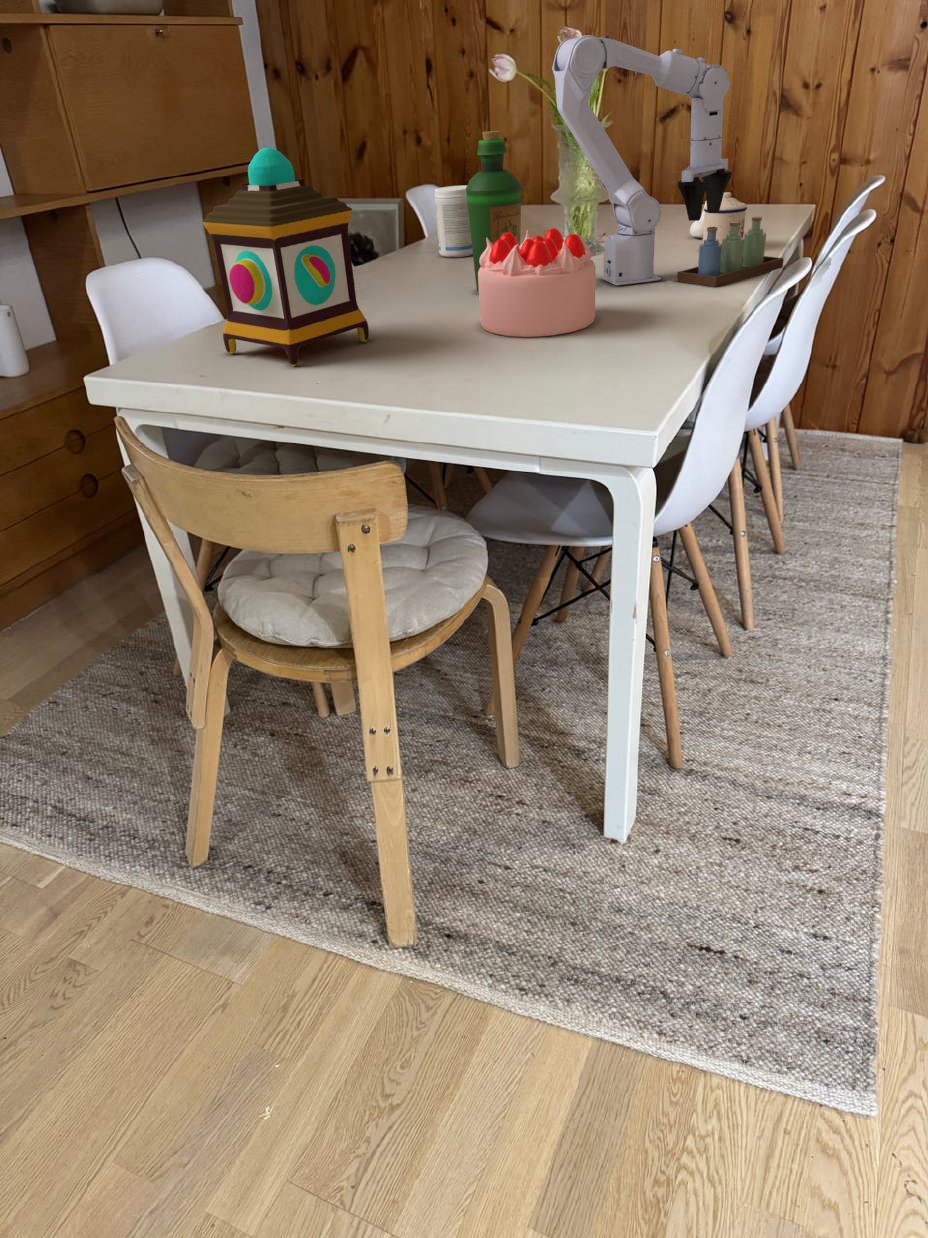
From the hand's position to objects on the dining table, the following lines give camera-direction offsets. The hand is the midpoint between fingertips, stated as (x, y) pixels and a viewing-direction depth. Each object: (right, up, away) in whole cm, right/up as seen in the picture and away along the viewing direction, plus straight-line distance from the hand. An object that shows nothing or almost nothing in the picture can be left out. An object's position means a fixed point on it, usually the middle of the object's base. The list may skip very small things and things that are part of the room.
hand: (704, 216), depth 177 cm
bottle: (-40, -14, +3) cm, 43 cm away
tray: (+6, -11, +2) cm, 12 cm away
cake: (-34, -28, -22) cm, 49 cm away
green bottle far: (+11, -8, +5) cm, 14 cm away
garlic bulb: (+10, +12, +39) cm, 42 cm away
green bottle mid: (+6, -10, +2) cm, 12 cm away
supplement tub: (-48, +9, +41) cm, 64 cm away
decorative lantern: (-75, -34, -25) cm, 86 cm away
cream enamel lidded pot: (+11, +4, +25) cm, 28 cm away
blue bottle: (0, -13, -2) cm, 13 cm away
